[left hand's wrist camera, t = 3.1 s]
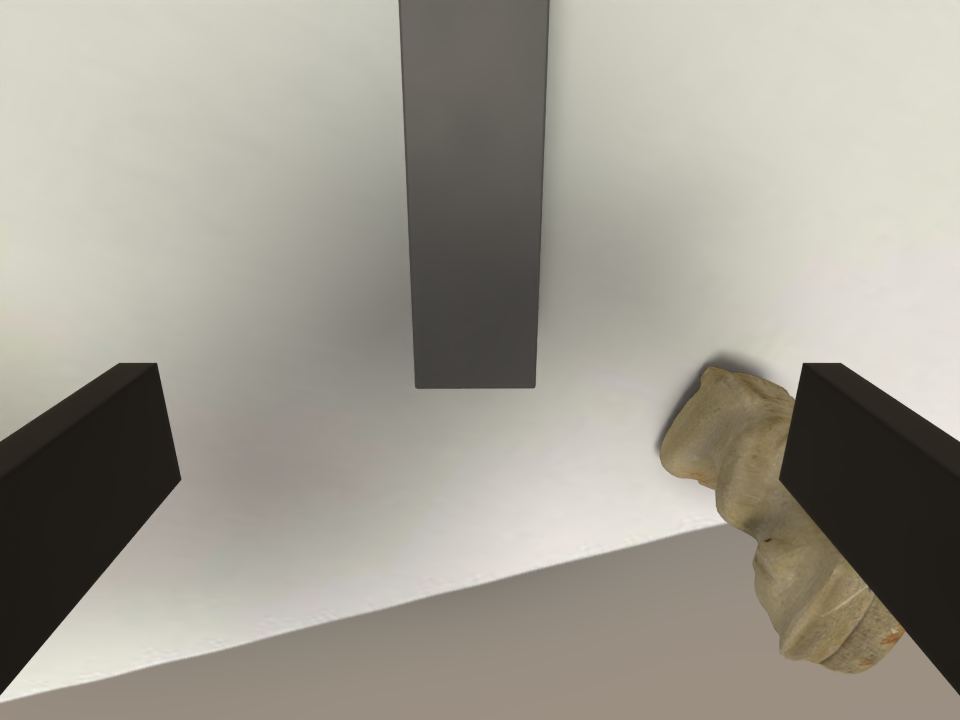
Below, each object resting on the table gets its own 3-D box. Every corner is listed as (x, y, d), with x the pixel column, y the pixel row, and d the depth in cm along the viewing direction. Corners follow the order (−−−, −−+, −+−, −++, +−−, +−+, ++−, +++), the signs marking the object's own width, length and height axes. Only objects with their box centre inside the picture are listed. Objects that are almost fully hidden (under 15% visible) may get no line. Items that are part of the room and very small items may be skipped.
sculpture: (634, 448, 35) (739, 663, 21) (696, 340, 33) (860, 502, 19) (721, 481, 36) (877, 708, 22) (788, 378, 34) (1010, 559, 20)
